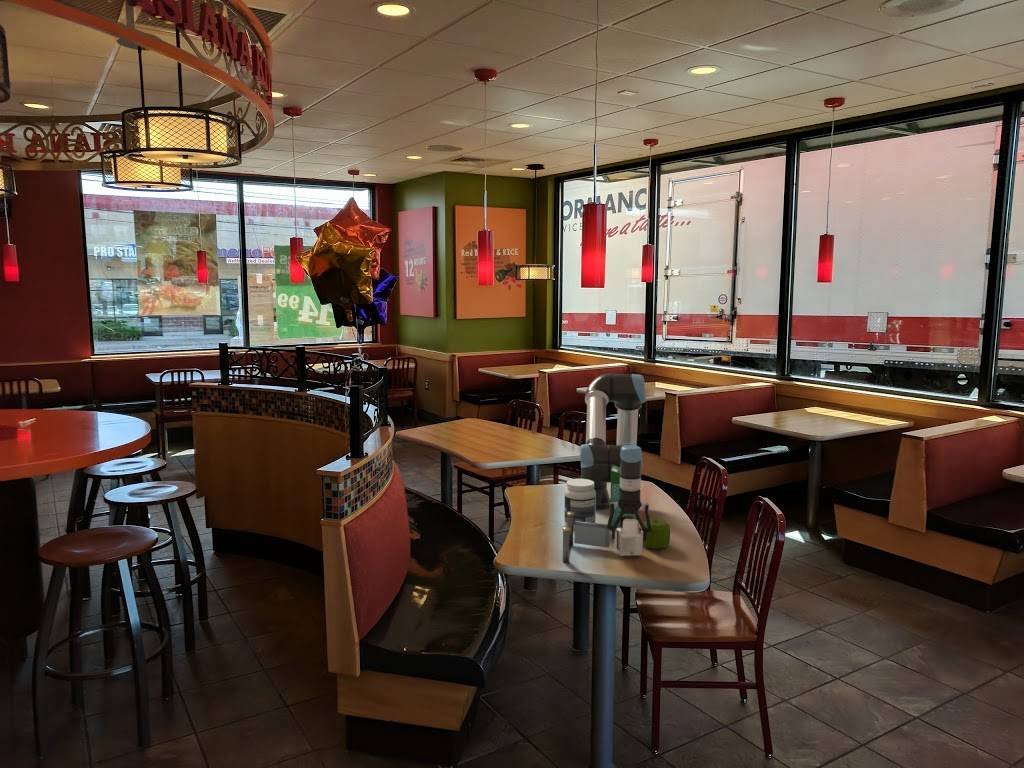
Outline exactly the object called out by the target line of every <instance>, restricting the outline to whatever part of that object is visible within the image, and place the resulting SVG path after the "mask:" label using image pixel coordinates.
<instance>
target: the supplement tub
mask: <svg viewBox="0 0 1024 768" xmlns="http://www.w3.org/2000/svg"><path fill="white" fill-rule="evenodd" d="M594 487H595V486H594V482H593V481H591V480H588V479H581V478H572V479H568V480H567V482H566V488H565V491H564V518H563V519H564V521H563V523H564V525H565V526H567V512H574V523H575V521H581V522H590V523H596V519H597V516H596V514H597V513H596V510H597V509H596V491H595V489H594ZM573 530H575V524H574V528H573Z"/></svg>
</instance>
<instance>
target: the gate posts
mask: <svg viewBox="0 0 1024 768" xmlns="http://www.w3.org/2000/svg"><path fill="white" fill-rule="evenodd" d="M561 528H562V563H563V564H570V552H571V548H572V547H574V529H573V528H574V512H567V526H566V525H565V526H562V527H561Z"/></svg>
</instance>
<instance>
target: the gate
mask: <svg viewBox="0 0 1024 768" xmlns="http://www.w3.org/2000/svg"><path fill="white" fill-rule="evenodd" d="M574 524H575V529H574V530H573V544H575V545H583V546H584V545H585V546H593V547H594V546H595V547H602V548H607V549H608V548H610V544H611V543H610V539H611V538H610V536H611V533H610V529H607V524H608V523H607V524H605V523H598V522H597V523H590V522H581V521H575V523H574Z"/></svg>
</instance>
